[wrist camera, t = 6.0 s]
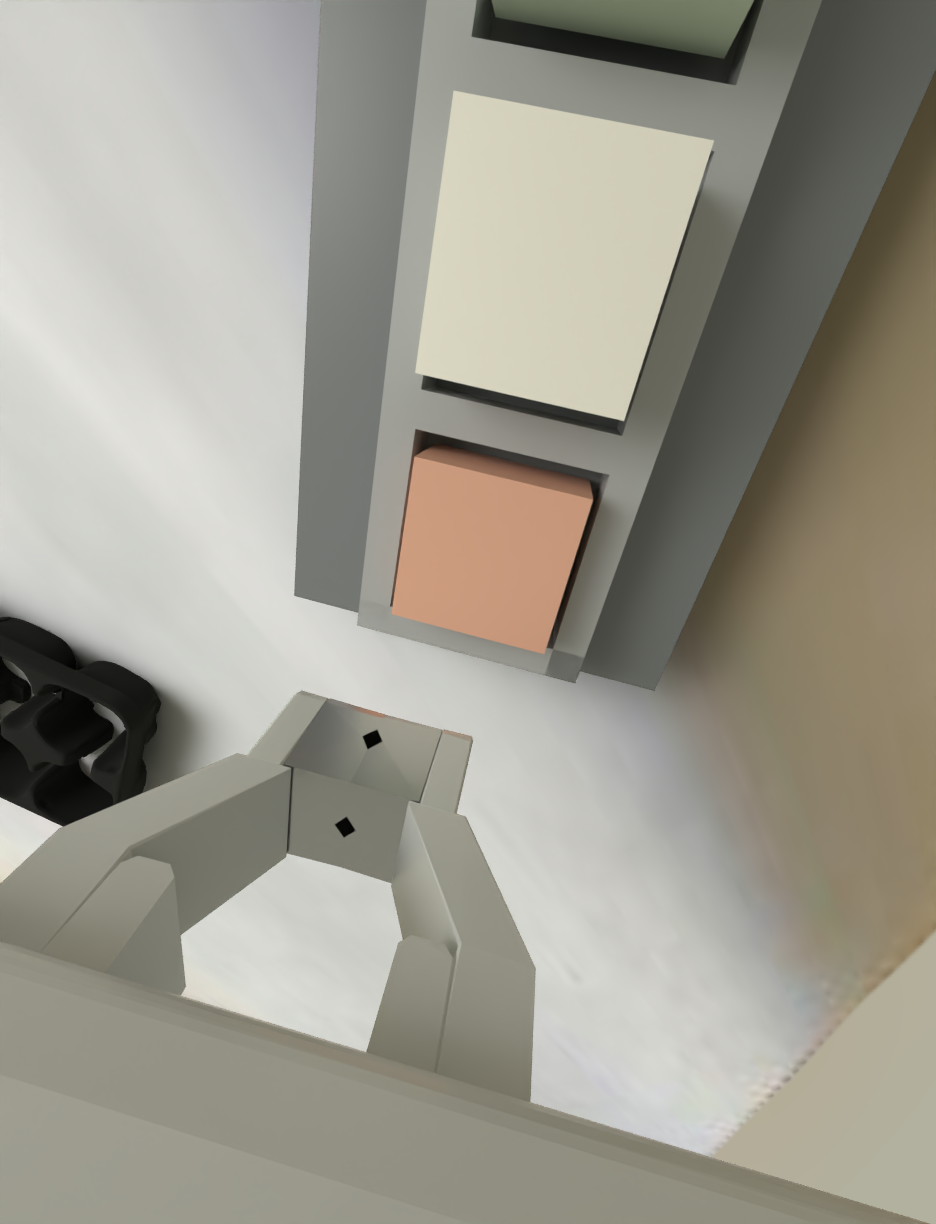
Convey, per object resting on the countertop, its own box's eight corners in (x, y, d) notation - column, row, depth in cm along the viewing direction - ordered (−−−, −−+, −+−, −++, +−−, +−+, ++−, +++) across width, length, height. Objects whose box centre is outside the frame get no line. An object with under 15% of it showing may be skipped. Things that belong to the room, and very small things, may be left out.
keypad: (323, 571, 25) (271, 615, 21) (388, -336, 13) (298, -685, 9) (645, 654, 24) (662, 720, 20) (1028, -248, 12) (1289, -594, 8)
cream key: (440, 371, 16) (415, 372, 14) (475, 143, 14) (453, 90, 11) (614, 411, 16) (623, 421, 13) (684, 184, 13) (713, 140, 11)
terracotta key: (413, 582, 21) (391, 614, 18) (436, 443, 18) (414, 456, 16) (547, 616, 21) (544, 654, 18) (589, 479, 18) (593, 499, 15)
